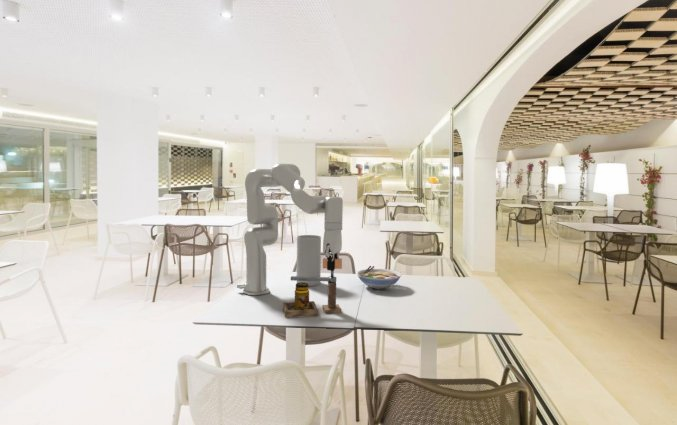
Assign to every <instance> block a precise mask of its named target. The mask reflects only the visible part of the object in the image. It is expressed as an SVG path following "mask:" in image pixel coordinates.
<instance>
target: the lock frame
mask: <svg viewBox="0 0 677 425" xmlns="http://www.w3.org/2000/svg"><path fill="white" fill-rule="evenodd" d="M315 302H316V301H314V300H313V301H311V300H309V310H291V309H292V308H293V307H295V301H286V302H282V303H283V304H282V310H283V314H285V315H284V318H285V317H286V318H291V317H290V316H307V317H318V315H319V312H318V311H319V310H318V307H317V305H316V303H315ZM321 309H322V311H323V312H324V314H325V313H326V314H341V313H342V308H341V307H340V304H337V281H336V282H334V283H330V282H328V281H327V304H322V305H321Z"/></svg>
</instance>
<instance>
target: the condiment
mask: <svg viewBox="0 0 677 425" xmlns="http://www.w3.org/2000/svg"><path fill="white" fill-rule="evenodd" d="M309 301H310V290H309V286H308V283H304V282H300V283H297V282H296V284H295V290H294V302H295V307H293V308H292V309H290V310H309V309H310V308H309Z"/></svg>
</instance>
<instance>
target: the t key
mask: <svg viewBox="0 0 677 425" xmlns="http://www.w3.org/2000/svg"><path fill="white" fill-rule="evenodd" d="M334 261H335V270H343V269H342V268H343V258H340V257H339V258H334ZM322 269H327V257H323V258H322ZM335 270H334V271H335ZM334 271H330V276H324V277H323V276H320V277H300V276H297V275H296V276H294V275H293V276H291V277H290V281H296V282H297V281H320V282H327V283H328V282H330V283H334V282H336V283H337V276H335V275H334V273H335V272H334Z"/></svg>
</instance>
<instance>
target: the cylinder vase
mask: <svg viewBox="0 0 677 425" xmlns="http://www.w3.org/2000/svg"><path fill="white" fill-rule="evenodd" d="M321 248H322V236H321V235H317V234H316V235H315V234H304V235H297V237H296V276H300V277H321V267H322V266H321V263H322V262H321V261H322V260H321V259H322V256H321V255H322V252H321V251H322V250H321ZM300 282H304V283H308V287H316V286H319V285H320V284H321V281H296V284H297V283H300Z"/></svg>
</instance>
